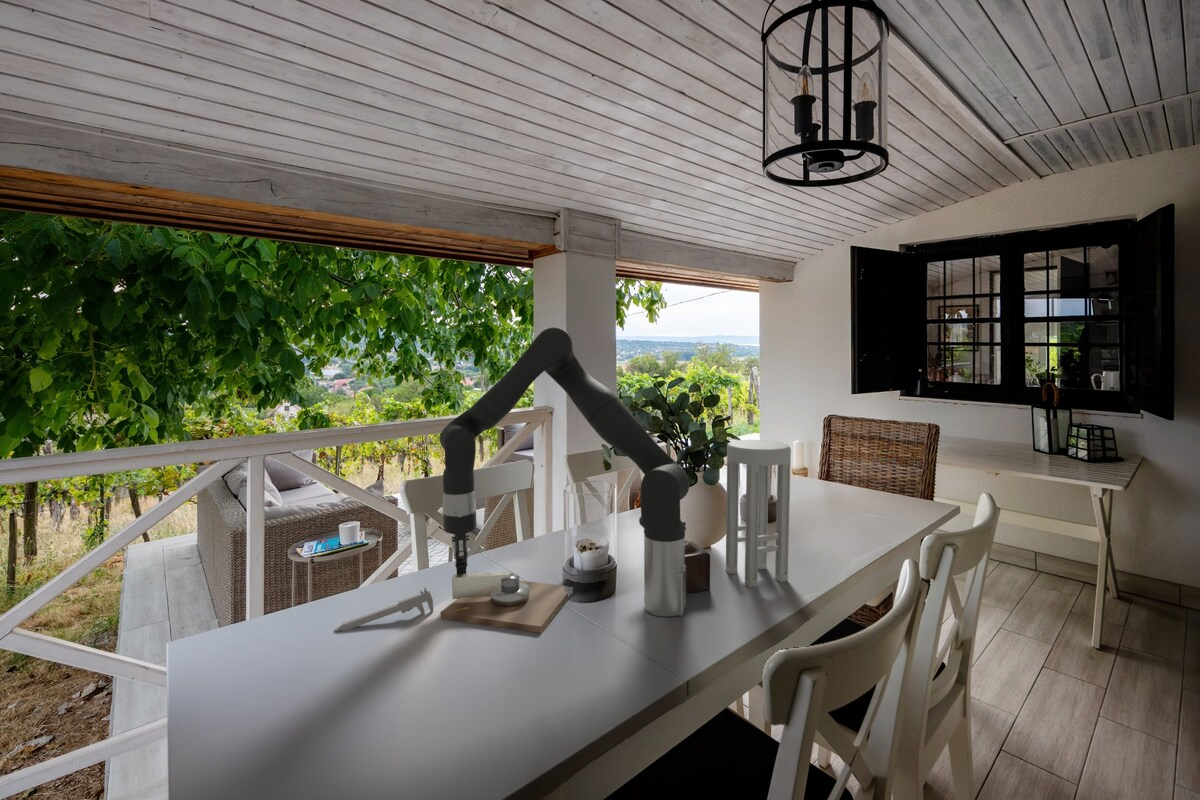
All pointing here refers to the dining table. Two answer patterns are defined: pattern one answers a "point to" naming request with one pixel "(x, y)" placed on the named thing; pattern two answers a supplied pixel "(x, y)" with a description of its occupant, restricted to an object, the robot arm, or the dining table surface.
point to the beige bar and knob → (491, 587)
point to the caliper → (392, 610)
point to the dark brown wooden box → (695, 567)
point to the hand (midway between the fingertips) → (461, 581)
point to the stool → (758, 507)
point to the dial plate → (511, 609)
